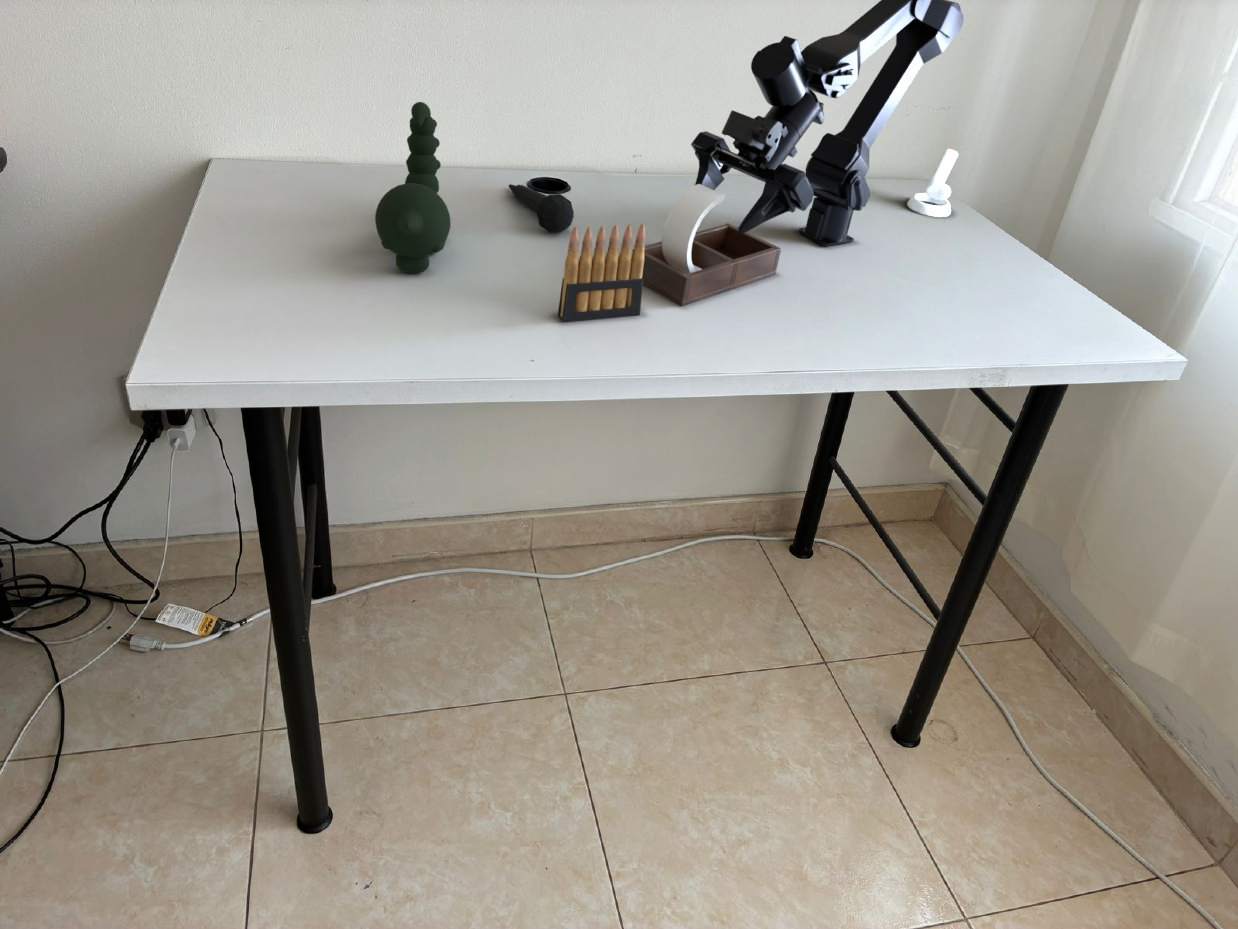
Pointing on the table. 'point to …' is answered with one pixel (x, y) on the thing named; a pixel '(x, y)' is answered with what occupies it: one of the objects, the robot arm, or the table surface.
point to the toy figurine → (415, 201)
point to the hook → (936, 190)
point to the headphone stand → (686, 225)
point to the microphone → (546, 208)
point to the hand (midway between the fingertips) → (714, 219)
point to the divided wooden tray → (711, 265)
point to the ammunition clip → (602, 277)
